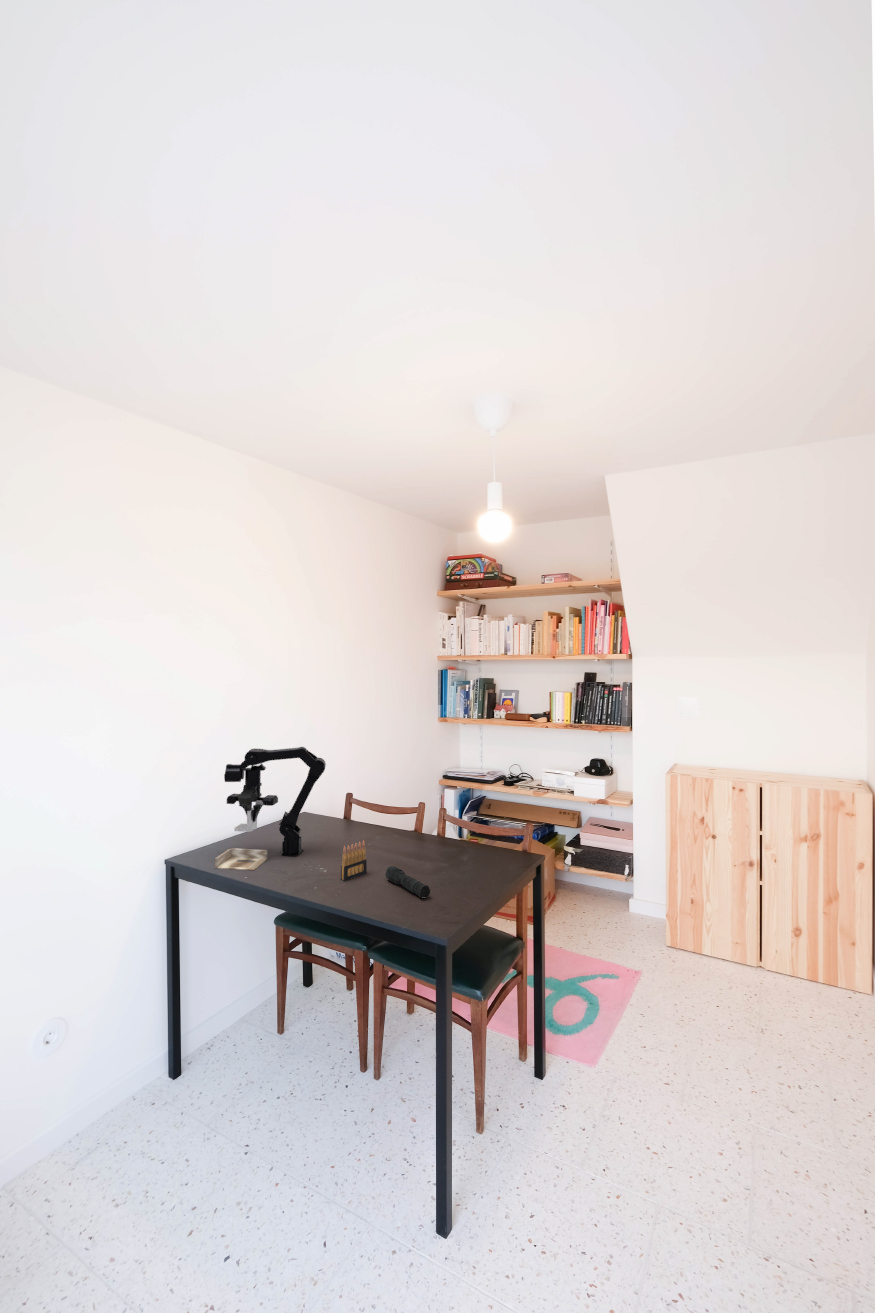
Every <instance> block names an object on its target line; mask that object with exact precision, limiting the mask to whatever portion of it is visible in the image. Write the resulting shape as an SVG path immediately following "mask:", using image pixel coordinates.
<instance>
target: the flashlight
mask: <svg viewBox="0 0 875 1313" xmlns="http://www.w3.org/2000/svg"><path fill="white" fill-rule="evenodd" d="M385 877H386V879H387V880H388V881H390V882H391V883H393V884H395V885H402V887H403V888H405V889H406V890H408V891H410V892H411V893H413V894H416V895H417V896H419V898H421V899H423V898H422V897H427V898H428V897H429V896H430V894H431V889H430V887H429V886H428V884H425V883H422V882H421V881H419V880H418V879H416V878H414V877H412V876H410V875H406V873H405V871H404V870H403V869H401V868H399V867H396V866H395V865H390V866H389V867H387V869H386V871H385Z"/></svg>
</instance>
